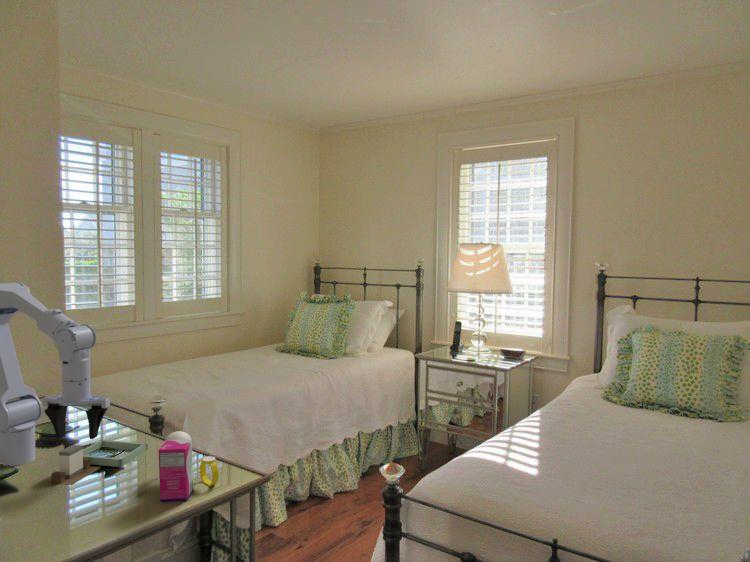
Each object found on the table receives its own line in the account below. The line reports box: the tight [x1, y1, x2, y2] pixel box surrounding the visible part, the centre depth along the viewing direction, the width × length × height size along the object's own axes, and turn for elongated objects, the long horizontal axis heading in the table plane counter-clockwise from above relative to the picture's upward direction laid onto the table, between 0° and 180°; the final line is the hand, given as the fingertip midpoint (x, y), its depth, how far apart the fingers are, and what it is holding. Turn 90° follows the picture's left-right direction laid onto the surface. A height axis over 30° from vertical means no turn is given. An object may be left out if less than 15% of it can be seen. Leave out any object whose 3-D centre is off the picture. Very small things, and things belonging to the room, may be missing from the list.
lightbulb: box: [164, 430, 192, 442], centre depth 128 cm, size 6×6×11 cm
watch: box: [199, 456, 219, 487], centre depth 126 cm, size 6×3×6 cm, turn 47°
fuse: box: [58, 444, 84, 479], centre depth 128 cm, size 3×4×6 cm, turn 170°
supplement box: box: [157, 438, 194, 503], centre depth 120 cm, size 6×6×12 cm
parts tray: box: [83, 439, 149, 468], centre depth 139 cm, size 13×11×2 cm
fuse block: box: [39, 458, 102, 486], centre depth 128 cm, size 8×10×3 cm
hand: (77, 437), depth 128 cm, fingers open, 7 cm apart
